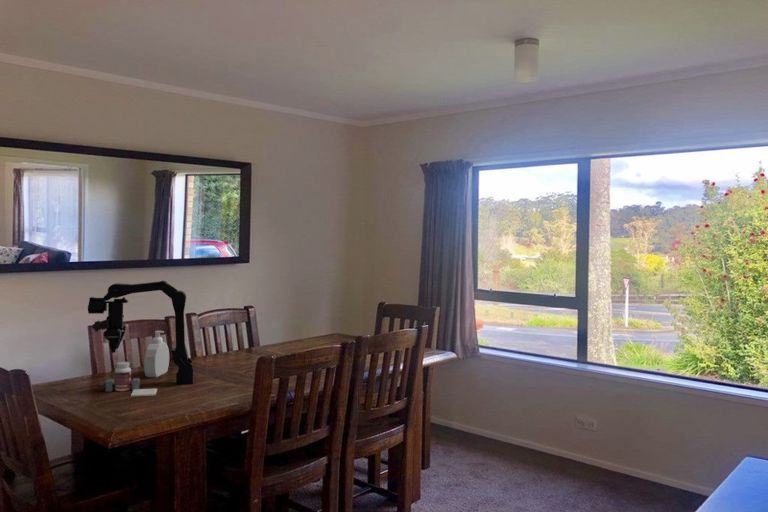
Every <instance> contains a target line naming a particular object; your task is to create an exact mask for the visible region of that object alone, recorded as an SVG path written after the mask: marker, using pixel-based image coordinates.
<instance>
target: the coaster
mask: <svg viewBox="0 0 768 512" xmlns="http://www.w3.org/2000/svg"><path fill="white" fill-rule="evenodd" d="M157 391H158V388H139V389H134V390H133V391H132V393H131V394H130V397H132V398H133V397H134V398H135V397H151V396H152V397H153V396H156V395H157Z"/></svg>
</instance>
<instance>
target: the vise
mask: <svg viewBox="0 0 768 512" xmlns="http://www.w3.org/2000/svg"><path fill="white" fill-rule="evenodd" d="M140 379H141V378H140V377H133V379H131V391H132V392H133V390H134V389H141V380H140ZM98 388H105V392H106V393H107V392H108V393H109V392H113V391H114V390H115V378H108V379H107V380H106V381H105V382H99V383H98Z"/></svg>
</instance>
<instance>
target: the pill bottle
mask: <svg viewBox="0 0 768 512" xmlns="http://www.w3.org/2000/svg"><path fill="white" fill-rule="evenodd" d="M130 365H131V364H130V361H120V362H116V368H115V369H114V383H115V388H114V390H115V391H116V392H126V391H130V390H132V387H131V382H132V368H131V367H130Z"/></svg>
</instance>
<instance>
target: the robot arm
mask: <svg viewBox="0 0 768 512" xmlns="http://www.w3.org/2000/svg"><path fill="white" fill-rule="evenodd" d="M156 291H161V292H162V293H164V294H165V295H166V296H167V297H169V298H170V299H171V303H172V308H173V311H174V321H175V323H174V325H175V328H174V329H175V347H172V349H171V354H172V357H171V361H173V363H174V365H175V366H177V371H176V372H175V373H176V374H175V376H176V379H175V383H176V384H177V385H191V384H194V367H193V364H194V361H193V360H192V359H191V358H190V357H189V352H188V349H187V345H186V333H185V332H186V331H185V330H186V329H185V328H186V327H185V307H186V303H187V302H186V301H187V294H186V292H185V291H182V290H178V289H177V288H176V287H174V286H172V285H171V284H169V283H168V282H167V281H166V280H161V281H151V282H142V283H123V282H121V283H120V282H119V283H118V282H117V283H113V284H111V285H110V286H109V287H108V288H107V293H105V295H104V296H103V297H93V296H91V297H89V298H88V300H89V301H88V305H87V312H88V314H89V315H90V314H92V315H93V314H96V315H97V314H98V315H99V314H100V315H101V314H104V313H105V312H108V313H107V316H106V319H103V320H101V321H100V320H97V321H94V323H92V329H93V330H94V332H95V333H96V332H98V331H101V330H104V329H105V331H103V337H104V339H106V340H107V341H108V342H109V346H110V347H109V348H110V350H111V353H113V354H114V353H115V352H116V350H117V349H119V347H120V345H121V344H122V340H123V339H124V336H125V334H126V331H127V325H126V323H123V322H124V317H125V315H124V304H128V303H129V300H128V299H126V297H125V296H127V295H131V294H136V293H137V294H138V293H145V292H146V293H148V292H156ZM121 297H122V298H121ZM111 299H113V300H111Z"/></svg>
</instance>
